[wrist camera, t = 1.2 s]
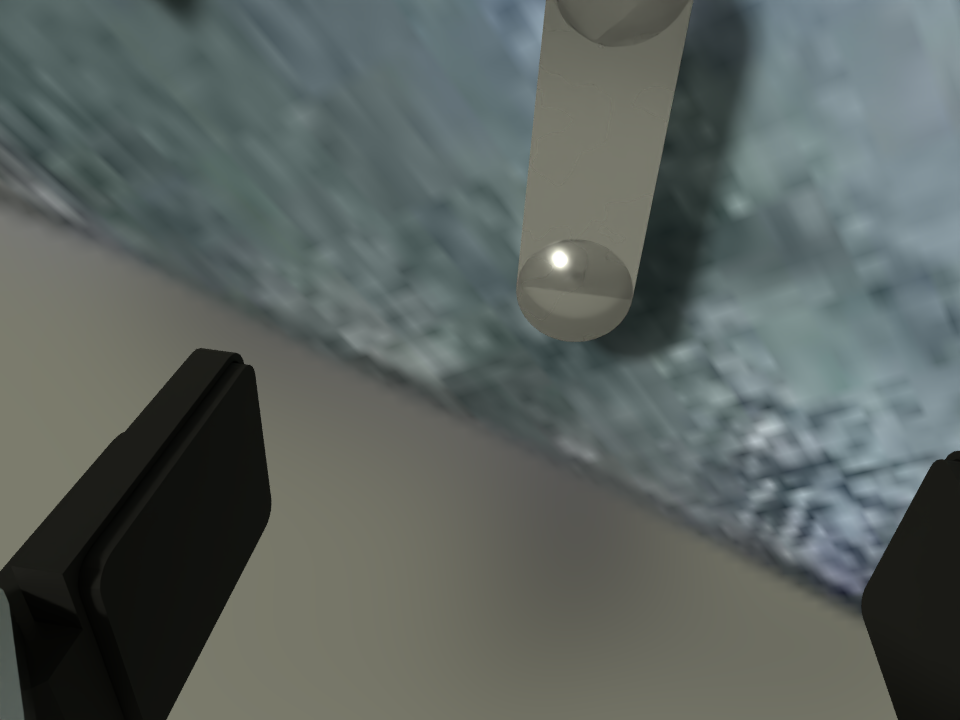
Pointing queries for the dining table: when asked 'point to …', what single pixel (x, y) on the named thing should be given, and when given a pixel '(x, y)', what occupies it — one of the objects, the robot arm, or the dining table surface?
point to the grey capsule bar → (595, 158)
